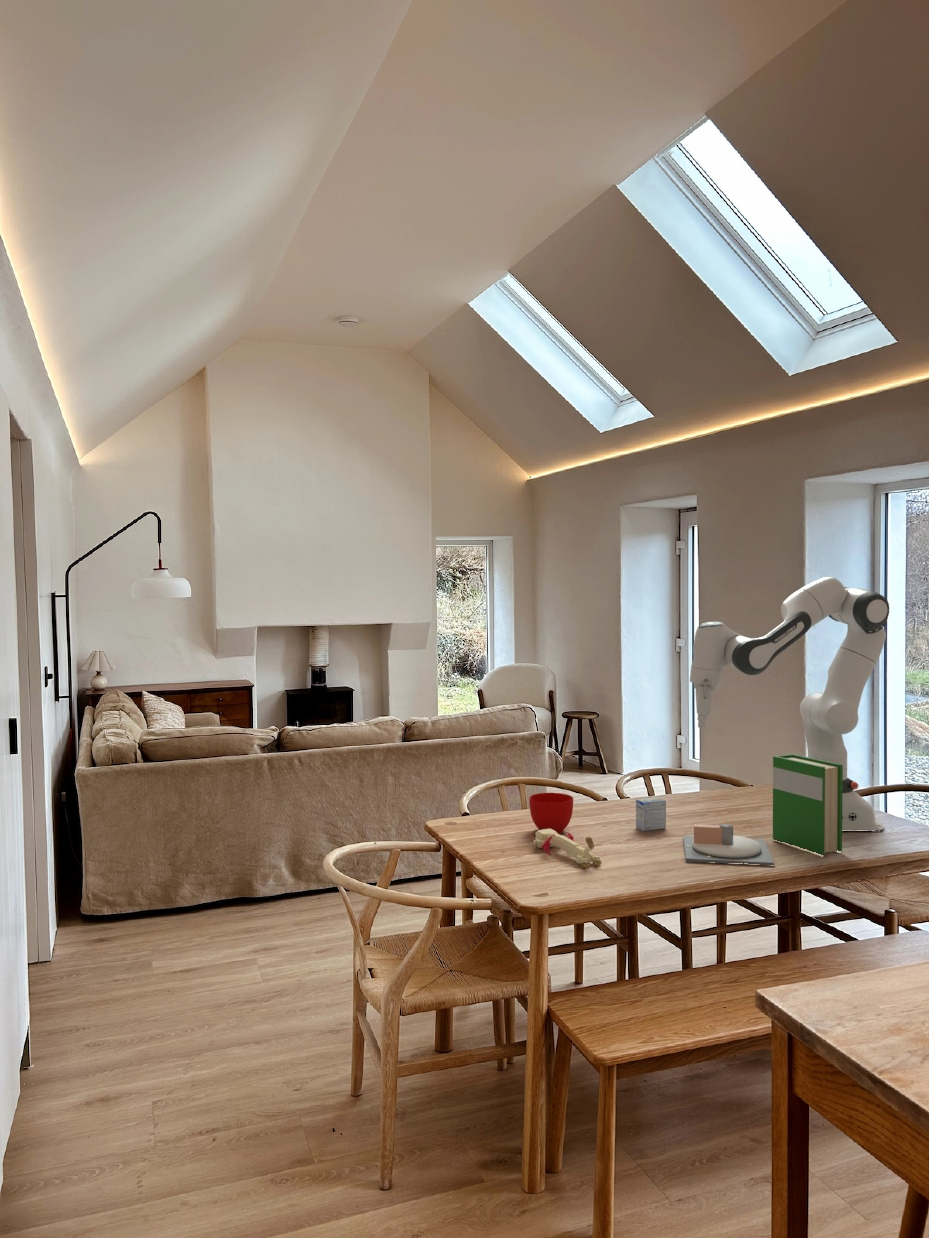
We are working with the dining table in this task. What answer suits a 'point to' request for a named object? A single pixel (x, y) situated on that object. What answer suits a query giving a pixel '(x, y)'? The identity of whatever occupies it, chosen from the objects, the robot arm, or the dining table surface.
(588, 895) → the dining table surface
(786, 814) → the hardback book
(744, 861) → the dial base plate
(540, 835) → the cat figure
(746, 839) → the dial
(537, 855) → the dining table surface
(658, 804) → the medicine box
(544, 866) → the dining table surface
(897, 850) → the dining table surface
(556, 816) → the ceramic cup
